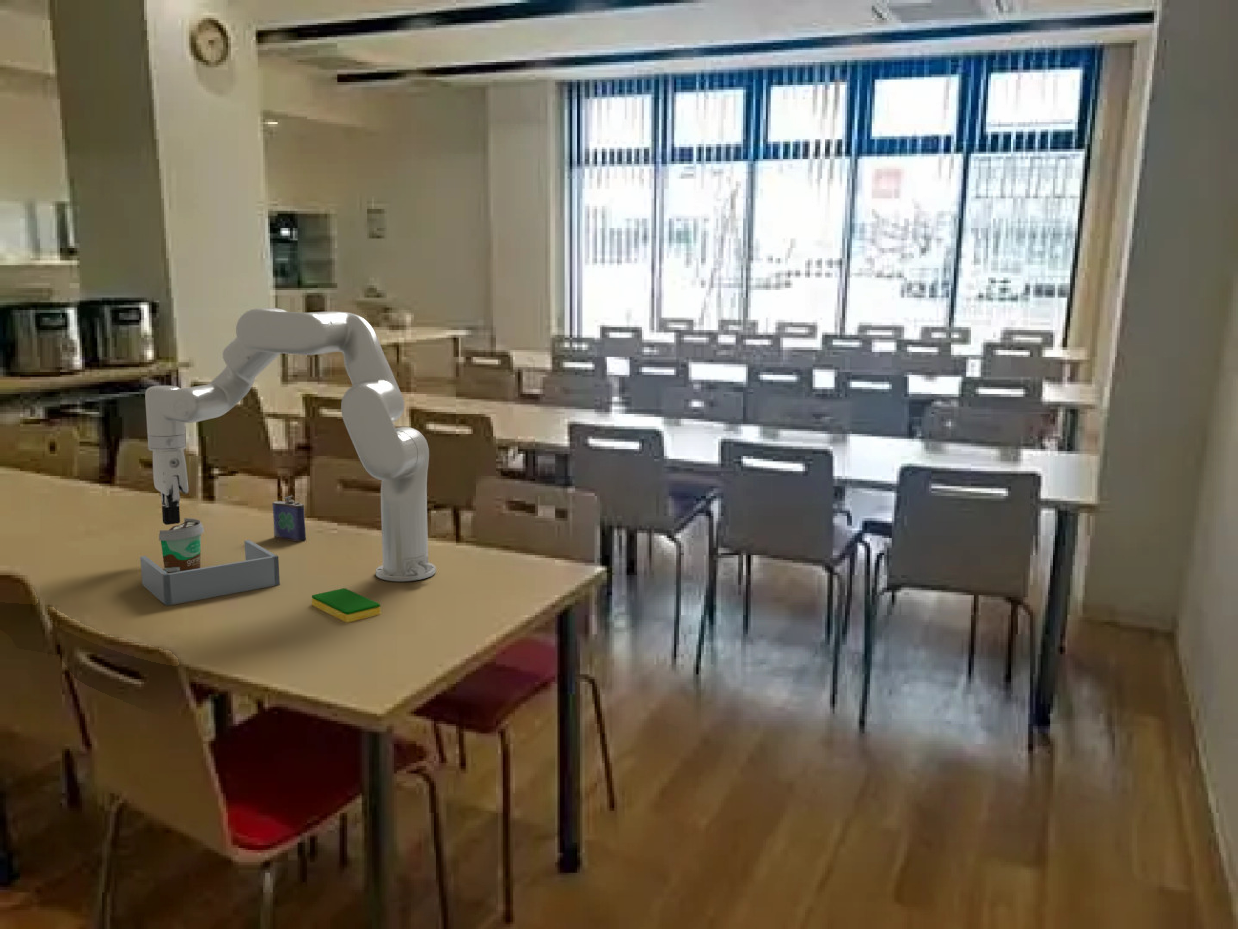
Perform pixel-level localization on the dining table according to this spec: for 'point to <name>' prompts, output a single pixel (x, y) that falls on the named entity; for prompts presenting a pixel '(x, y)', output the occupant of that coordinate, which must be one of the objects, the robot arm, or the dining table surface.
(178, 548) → the food container
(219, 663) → the dining table surface
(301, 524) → the flask
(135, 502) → the dining table surface
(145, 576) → the grey u-shaped frame
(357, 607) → the dish sponge
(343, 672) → the dining table surface
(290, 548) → the dining table surface
